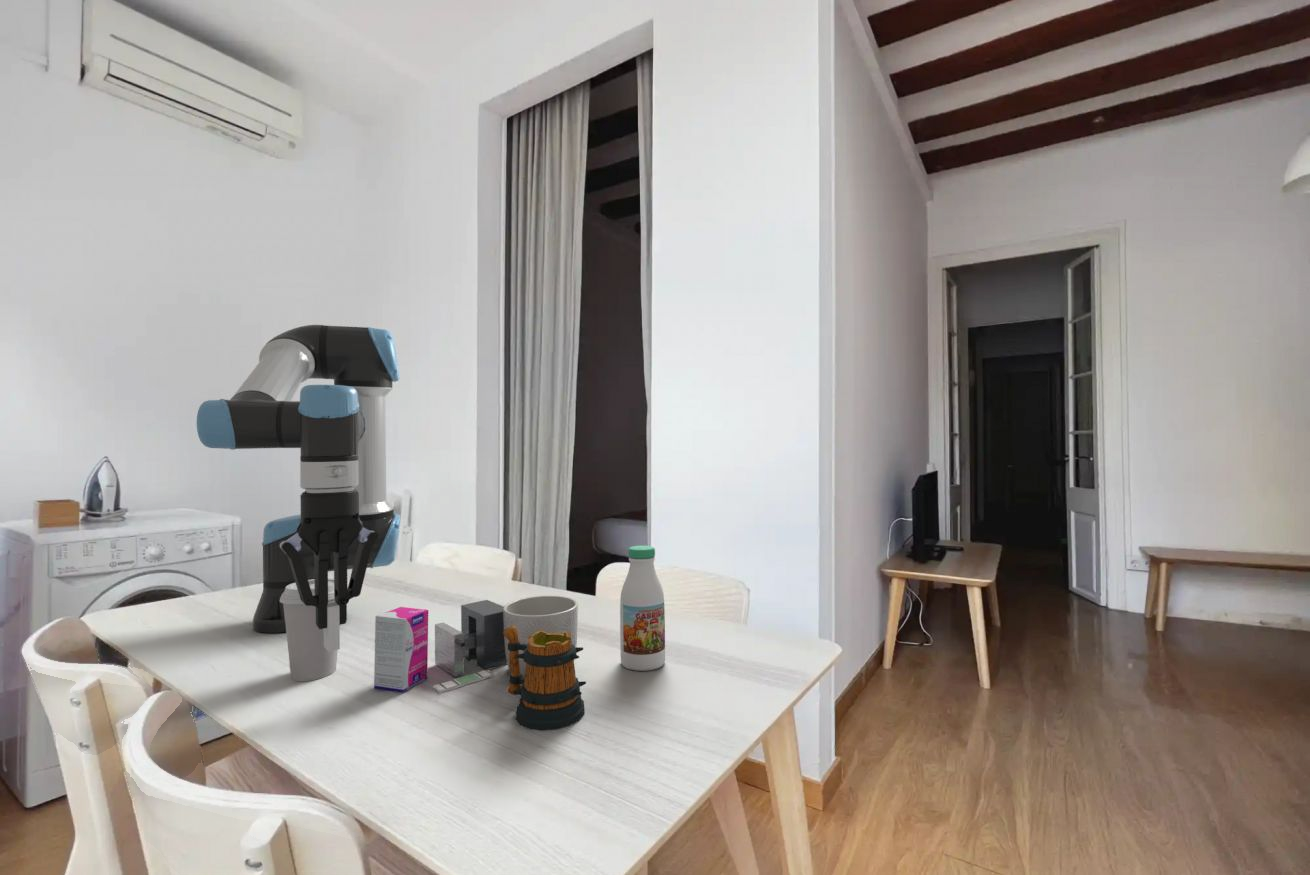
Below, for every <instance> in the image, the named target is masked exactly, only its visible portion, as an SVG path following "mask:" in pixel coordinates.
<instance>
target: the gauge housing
mask: <svg viewBox="0 0 1310 875" xmlns="http://www.w3.org/2000/svg"><path fill="white" fill-rule="evenodd" d="M503 608H504V606H503V605H501V604H499V603H496V602H494V601H491V600H488V599H484V600H480V601H475V602H470V603H465V604H461V605H460V610H461V611H460V616H461V618H460V621H461V622H460V623H461V624H460V626H461V628H460V629H461V630H460V632H462V633H463V635H465V634H469V633H473V632H476V638H477V647H475V648H472V649H468V650H464V651H463V653H464V660H467V661H468V662H471V661H474V660H476V667H478V668H480V669H482V671H484V670H489V671H490V670H492V669H495V668H498V667H502V666H505V665H508V664H507V660H506V654H505V642H504V634H503V631H504V621H503Z"/></svg>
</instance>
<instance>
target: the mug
mask: <svg viewBox="0 0 1310 875" xmlns="http://www.w3.org/2000/svg"><path fill="white" fill-rule="evenodd" d="M503 634H504V636H505V637H506V638H507V639H508V641H509V643H508V650H509V651H510V653H509V666H510V669H509V670H510V675H508V676H509V677H508V682H509V685H508V687H507V693H508V695H512V696H519V695H520V698H519V701H518V705H517V706H516V711H515V721H516V722H517V723H518V725H519V726H520V727H523V728H525V729H528V730H532V731H539V732H540V731H542V732H544V731H555V730H556V731H557V730H560V729H564V728H567V727H570V726H573V725H574V724H575V723H578V722H580V720H581V719H582V718H583V717H584V716H585V701H584V699H582V694H583V693H582V692H581V687H583V686H586V684H587V681H582V680H580V681H579V679H578V677H576V670H575V668H576V667H575V660H577V659H580V656H579V655H578V654H577V653H579V652H581V651H583V650H584V647H582V646H581V647H575V645H573V644H572V642H571V633H569V632H564V634H562V633H546V632H544V631H540V630H538V631H537V632H535V633H534V634H532V635H531V636H529V641H528V644H524V643H522V644H521V642H519V637H518V631H517V629H516V627H515V626H511V627H509V628H507V629H506V630H504V631H503ZM519 650H522V651H524V653H522V654H519ZM519 658H521V659H523V660H524V662H526V671H525V678H523V677H522V674H520V663H519ZM574 659H575V660H574Z"/></svg>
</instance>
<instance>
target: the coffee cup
mask: <svg viewBox="0 0 1310 875" xmlns="http://www.w3.org/2000/svg"><path fill="white" fill-rule="evenodd" d="M308 582H309V585H310V588H311V592H312V595H314V596H315V579H311V580H308ZM333 601H335V598H334V577H333V578H332V577H331V578H329V577H328V602H333ZM280 602H281V603H283V607H284V615H285V624H286V632H285V633H286V642H287V652H288V661H289V671H290V679H291V680H293V681H295V682H310V681H315V680H320V679H324V678H325V677H328V676H330V675H331V676H332V674H333V673H335V672H336V671H337V663H338V652H339V649H338V650H334V651H330V652H328V651H327V650H326V649H325V647H324V629H319V628H318V627H317V625H316V607H315V606H307V605H305V604H304V603H303V602H302V601H301V599H300V596H299V592H298V589H297V586H296V583H292V584H289V585H287V586H286V588H285V591H284V592H283V593H282V595H281V597H280Z"/></svg>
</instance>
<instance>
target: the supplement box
mask: <svg viewBox="0 0 1310 875" xmlns="http://www.w3.org/2000/svg"><path fill="white" fill-rule="evenodd" d="M374 624H375V626H374V628H375V630H374V666H373V668H374V674H373V676H374V680H373V689H374V690H376V691H383V690H385V692H386V691H387V692H392V693H393V692H394V693H398V692H399V693H400V694H404V693H405V692H407V691H408V690H410V689H411V688H414V687H415V686H416V685H418V684H420V683H421V682H424V681H425V680H427V679H428V663H429V662H428V657H429V656H428V655H429V654H428V653H429V650H428V649H429V609H426V608H425V609H424V608H416V607H415V608H413V607H406V606H399V607H396V608H394V609H391V610H388V611H386V612H384V613H383V612H382V613H381V614H379V615H376V616H375V622H374Z"/></svg>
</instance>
